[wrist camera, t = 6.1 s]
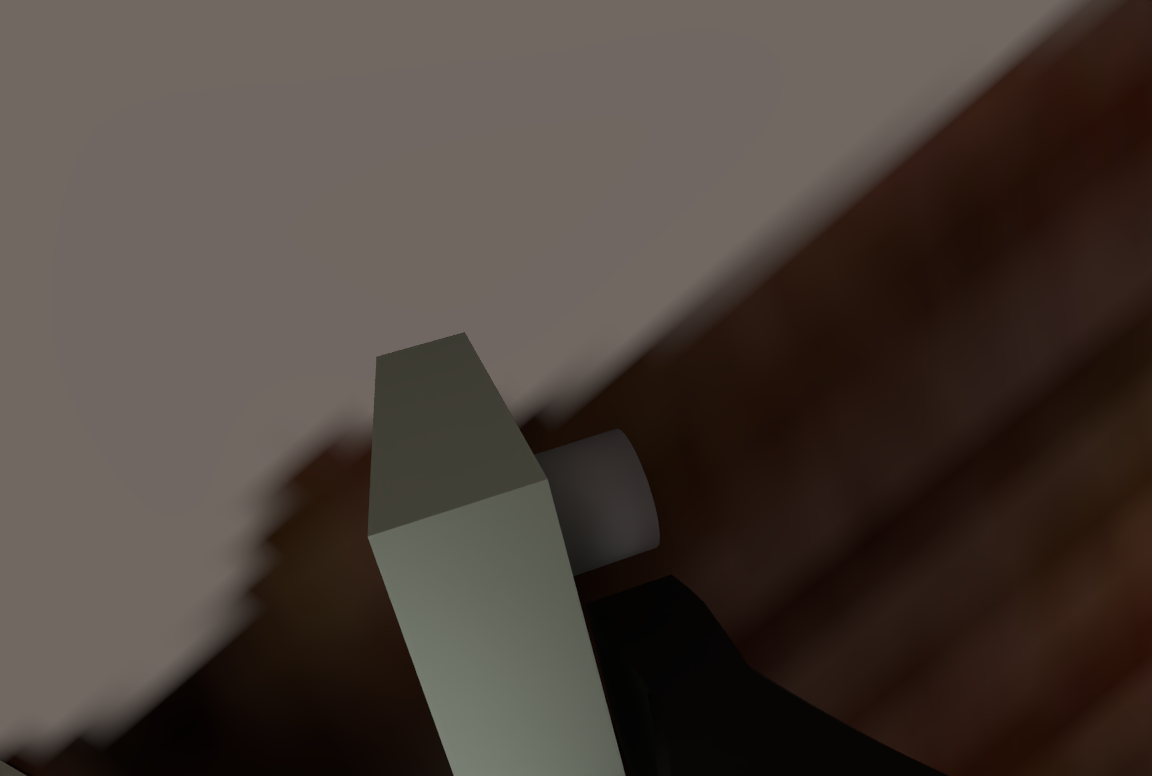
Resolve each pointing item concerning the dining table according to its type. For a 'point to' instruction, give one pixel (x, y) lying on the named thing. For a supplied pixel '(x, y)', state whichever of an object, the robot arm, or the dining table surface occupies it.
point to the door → (498, 563)
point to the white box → (9, 770)
